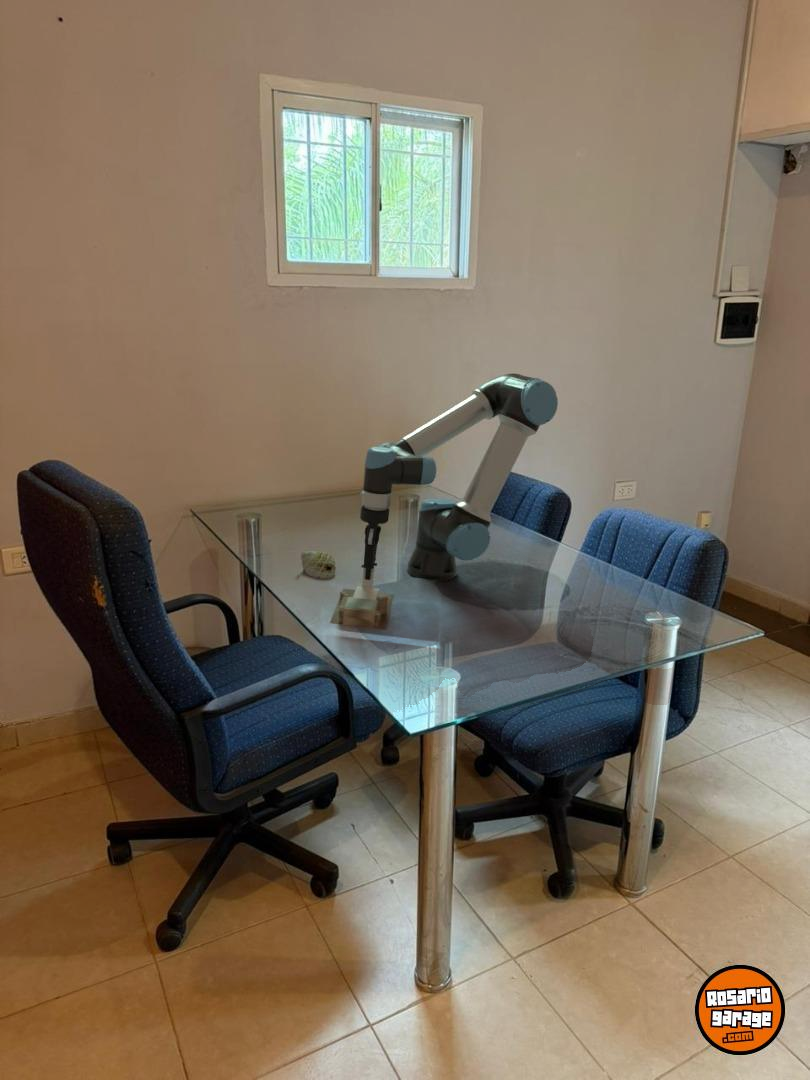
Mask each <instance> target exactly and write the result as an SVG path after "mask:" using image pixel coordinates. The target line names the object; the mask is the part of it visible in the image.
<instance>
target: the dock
mask: <svg viewBox="0 0 810 1080" xmlns="http://www.w3.org/2000/svg"><path fill="white" fill-rule="evenodd" d="M355 590H356V589H349V588H342V591H340V594H339V599H338V600H337V604H336V606H335V609H334V611H333V613H332V616H331V619H330V622H329V623H330V624H335V625H344V626H351V627H352V626H353V627H361V628H367V629H368V628H369V629H375V630H383V631H384V630H385V631H386V630H387V627H388V623H389V618H390V614H391V608H392V604H393V599H394V594H393V593H392V594H391V593H383V592H379V593H378V598H377V600H371V599H362V598H354V597H353V596H354V593H355Z"/></svg>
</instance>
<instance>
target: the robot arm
mask: <svg viewBox="0 0 810 1080" xmlns="http://www.w3.org/2000/svg"><path fill="white" fill-rule="evenodd" d="M558 401H559V400H558V397H557V392H556V389H555V388H554V387H553V385H552V384H551V383H549V382H547V381H545V380H543V379H540V378H538V377H537V378H536V377H531V376H526V375H523V374H520V373H519V374H518V373H506V374H502V375H500V376H497V377H495V378H493V379H491V380H489V381H487V382H486V383H483V384H482V385H480V386H478V387H477V388H475V389H473V390H472V393H471V395H470V396H468V397H467V398H465V399H464V400H462V401H461V402H460V403H459V402H458V404H456V405H454V406H453V407H451V408H449V409H448V410H446V411H444V412H443V413H442V414H441V413H440V415H438V416H436V417H435V418H433V419H431V420H429V421H427V422H426V423H425V424H423V425H422V426H420V427H418V428H417V429H414V430H413V431H412V432H410V433H408V434H407V435H405V436H403V437H402V438H400V439H398V440H397V441H395V442H394V443H392V442H383V443H382V444H380V445H379V446H372V447H370V448H368V449H367V452H366V456H365V460H364V461H365V463H364V475H363V487H362V491H361V492H360V493H359V494H360V496H361V504H362V505H361V506H360V513H359V514H360V515H359V518H360V520H361V521H362V522H364V523H367V524H366V526H365V529H364V536H365V537H364V554H363V555H364V557H363V564H361V568H363V572H362V583H361V587H368V588H373V584H374V573H375V567H377V566H378V563H377V562H376V561H377V559H376V558H377V551H378V544H379V541H380V535H381V532H382V526H380V525H384V524H386V523H388V521H389V517H390V506H391V500H392V493H393V492H392V491H393V490H392V489H393V485H394V486H397V485H399V486H400V485H402V486H404V485H405V486H414V485H415V486H416V485H417V486H422V485H423V486H424V485H430V484H432V483H433V482H434V481H435V478H436V477H437V464H436V461H435V459H434V458H433V457H430V456H426V455H427V454H430V453H431V452H432V451H434V450H436V449H437V448H439V447H441V446H442V445H444V444H446V443H447V442H449V441H450V440H452V439H454V438H455V437H457V436H458V435H461V434H462V433H464V432H465V431H467V430H469V429H470V428H472V427H473V426H475V425H476V424H478V423H481V421H483V420H491V419H493V418H495V417H497V416H498V418H499V422H500V423H499V425H498V427H497V430H496V431H495V433H494V435H493V437H492V440H491V442H490V443H489V445H488V448H487V449H486V451H485V454H484V456H483V457H482V459H481V461H480V464H479V466H478V467H477V470H476V472H475V474H474V476H473V477H472V480H471V481H470V483H469V486H468V487H467V490H466V491H465V494H464V496H463V498H462V499H461V500H460V501H457V500H456V499H455V500H454V499H449V498H426V499H423V500H421V502H420V507H419V510H418V513H419V514H418V520H417V521H418V522H417V531H416V541H415V546H414V549H413V551H412V553H411V555H410V558H409V560H408V562H407V567H406V569H407V573H408V574H409V575H411V576H413V577H415V578H417V579H423V580H430V581H440V582H447V581H448V580H449V581H452V580H454V579H455V578H456V577H457V573H458V567H457V562H456V558H457V559H458V560H460V561H473V560H474V559H477V558H479V557H481V556H482V555H483V554H484V553H485V552H486V550H488V547H489V545H490V541H491V536H490V533H491V532H490V531H489V527H490V526H491V524H492V518H491V516H490V513H491V512H492V509H493V507H494V506H495V503H496V502H497V499H498V497H499V496H500V494H501V492H502V489H503V487H504V486H505V484H506V482H507V480H508V478H509V476H510V474H511V471H512V469H513V468H514V466H515V464H516V463H517V459H518V458H519V456H520V455H521V452H522V450H523V448H524V446H525V443H526V442H527V440H528V438H529V437H530V436H533V435H536V434H537V432H538V430H539V428H540V427H541V426H542V425H545V424H547V423H549V422H551V420H552V419H554V416H555V415H556V413H557V411H558V403H559V402H558ZM455 576H456V577H455ZM454 577H455V578H454ZM453 578H454V579H453ZM451 579H452V580H451ZM449 581H448V582H449Z"/></svg>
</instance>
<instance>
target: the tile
mask: <svg viewBox="0 0 810 1080" xmlns="http://www.w3.org/2000/svg"><path fill="white" fill-rule="evenodd" d="M354 590H355V593H354V596H353V597H354V598H362V599H371V600H377V598H378V593H380V588H375V587H372V588H368V587H362V585H361V586H360V585H357V586H356V588H355V589H354Z"/></svg>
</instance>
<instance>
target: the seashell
mask: <svg viewBox="0 0 810 1080" xmlns="http://www.w3.org/2000/svg"><path fill="white" fill-rule="evenodd" d="M300 560H301V564H302V565H301V566H302V570H303V571H304V572H305V573H306V574H307V575H308V576H310V577H312V578H315V579H321V580H324V579H325V580H329V579H332V578H334V577H335V573H336V569H337V568H336V561H335V559H334V557H333V555H331V554H330V553H328V552H327V551H321V550H319V551H314V550H307V551H305V550H304V551H303V552H301V556H300Z"/></svg>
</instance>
